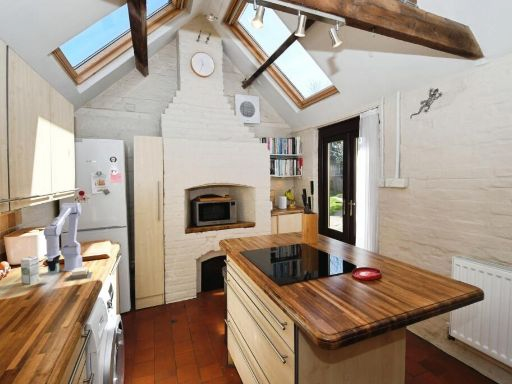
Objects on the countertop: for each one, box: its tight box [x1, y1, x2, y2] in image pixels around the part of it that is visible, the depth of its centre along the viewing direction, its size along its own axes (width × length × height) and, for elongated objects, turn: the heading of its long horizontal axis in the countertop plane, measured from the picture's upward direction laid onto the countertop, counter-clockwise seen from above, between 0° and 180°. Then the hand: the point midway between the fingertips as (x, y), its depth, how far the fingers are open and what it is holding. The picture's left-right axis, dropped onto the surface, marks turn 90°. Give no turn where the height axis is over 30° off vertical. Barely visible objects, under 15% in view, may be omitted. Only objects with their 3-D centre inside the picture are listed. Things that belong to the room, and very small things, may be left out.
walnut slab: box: [70, 269, 90, 280], centre depth 158 cm, size 8×8×2 cm
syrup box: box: [20, 256, 40, 285], centre depth 149 cm, size 6×6×14 cm
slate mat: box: [66, 271, 94, 283], centre depth 159 cm, size 12×12×1 cm
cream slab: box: [71, 266, 89, 276], centre depth 158 cm, size 7×7×2 cm
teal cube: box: [47, 262, 60, 275], centre depth 150 cm, size 4×4×4 cm
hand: (53, 269), depth 150 cm, fingers closed on teal cube, 4 cm apart
